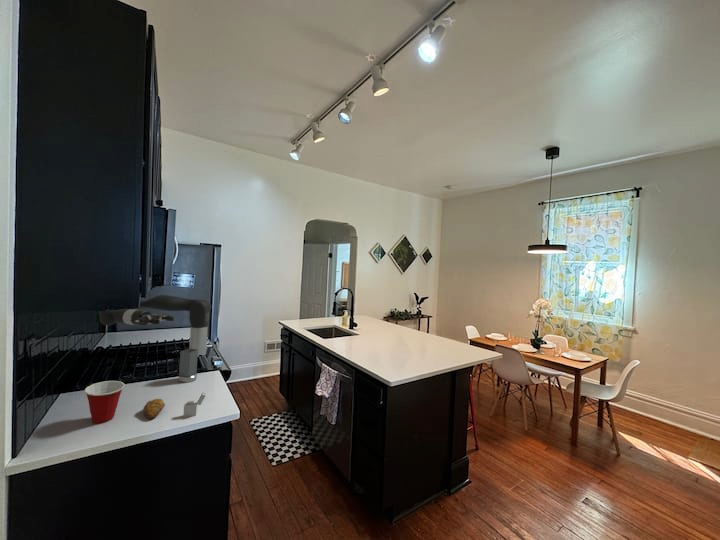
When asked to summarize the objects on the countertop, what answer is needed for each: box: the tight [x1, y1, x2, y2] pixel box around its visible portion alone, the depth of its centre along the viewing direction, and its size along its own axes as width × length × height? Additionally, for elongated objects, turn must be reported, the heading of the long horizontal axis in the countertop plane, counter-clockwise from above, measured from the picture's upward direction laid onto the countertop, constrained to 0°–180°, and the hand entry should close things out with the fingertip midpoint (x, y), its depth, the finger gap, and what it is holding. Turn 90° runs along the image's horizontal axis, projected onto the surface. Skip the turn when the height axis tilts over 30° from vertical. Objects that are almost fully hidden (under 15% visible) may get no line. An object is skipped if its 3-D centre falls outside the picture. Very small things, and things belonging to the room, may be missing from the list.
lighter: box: [182, 392, 207, 418], centre depth 111 cm, size 7×2×8 cm, turn 114°
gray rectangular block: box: [178, 348, 199, 378], centre depth 141 cm, size 5×5×12 cm
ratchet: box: [178, 374, 198, 384], centre depth 146 cm, size 19×8×5 cm, turn 37°
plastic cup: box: [84, 380, 126, 425], centre depth 104 cm, size 11×11×12 cm
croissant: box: [143, 398, 166, 420], centre depth 111 cm, size 14×7×5 cm, turn 26°
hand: (166, 320), depth 142 cm, fingers open, 8 cm apart
